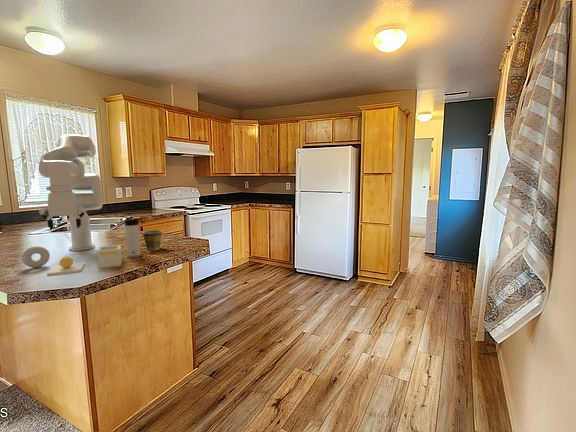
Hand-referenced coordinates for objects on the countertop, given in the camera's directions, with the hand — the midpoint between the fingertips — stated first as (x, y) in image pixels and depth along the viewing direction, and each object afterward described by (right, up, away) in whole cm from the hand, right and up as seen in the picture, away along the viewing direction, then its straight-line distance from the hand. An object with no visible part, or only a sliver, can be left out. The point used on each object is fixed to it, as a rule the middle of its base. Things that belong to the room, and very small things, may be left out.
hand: (65, 228), depth 136 cm
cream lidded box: (+14, -18, +10) cm, 25 cm away
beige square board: (-1, -19, +2) cm, 19 cm away
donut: (-17, -18, +5) cm, 26 cm away
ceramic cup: (+20, -14, +41) cm, 48 cm away
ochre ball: (-1, -15, +2) cm, 15 cm away
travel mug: (+18, -16, +25) cm, 34 cm away
